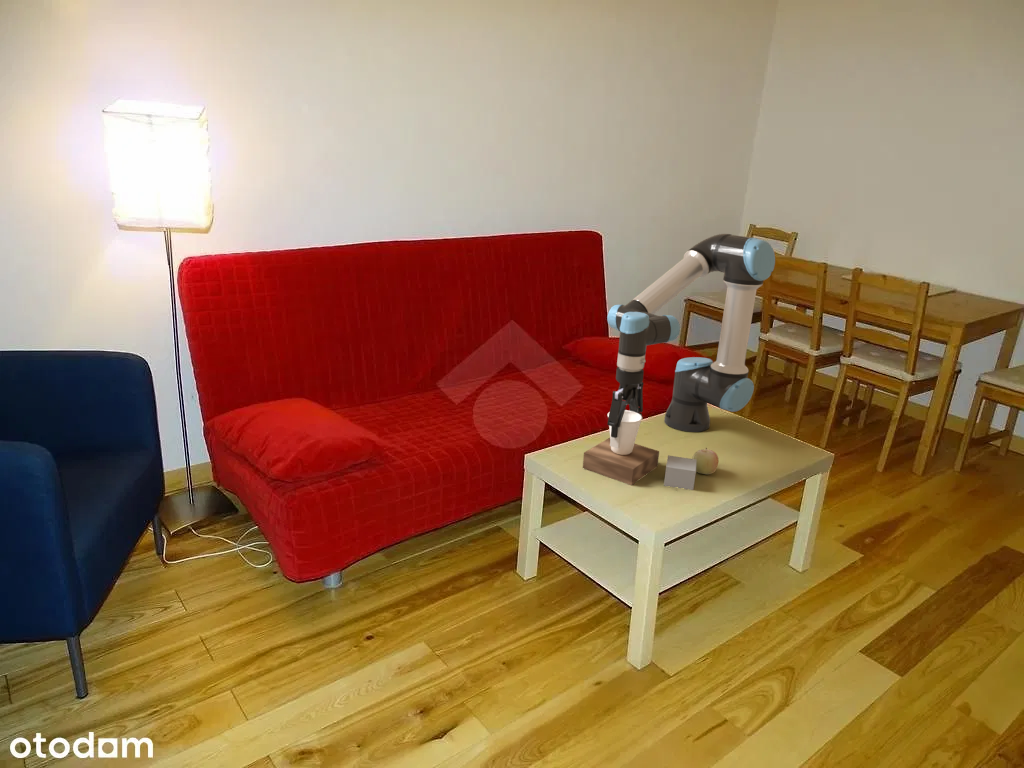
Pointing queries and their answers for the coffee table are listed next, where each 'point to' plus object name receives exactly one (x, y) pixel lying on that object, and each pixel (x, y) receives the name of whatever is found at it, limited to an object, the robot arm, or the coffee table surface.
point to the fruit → (706, 461)
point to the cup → (627, 432)
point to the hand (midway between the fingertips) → (623, 441)
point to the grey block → (680, 472)
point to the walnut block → (621, 462)
